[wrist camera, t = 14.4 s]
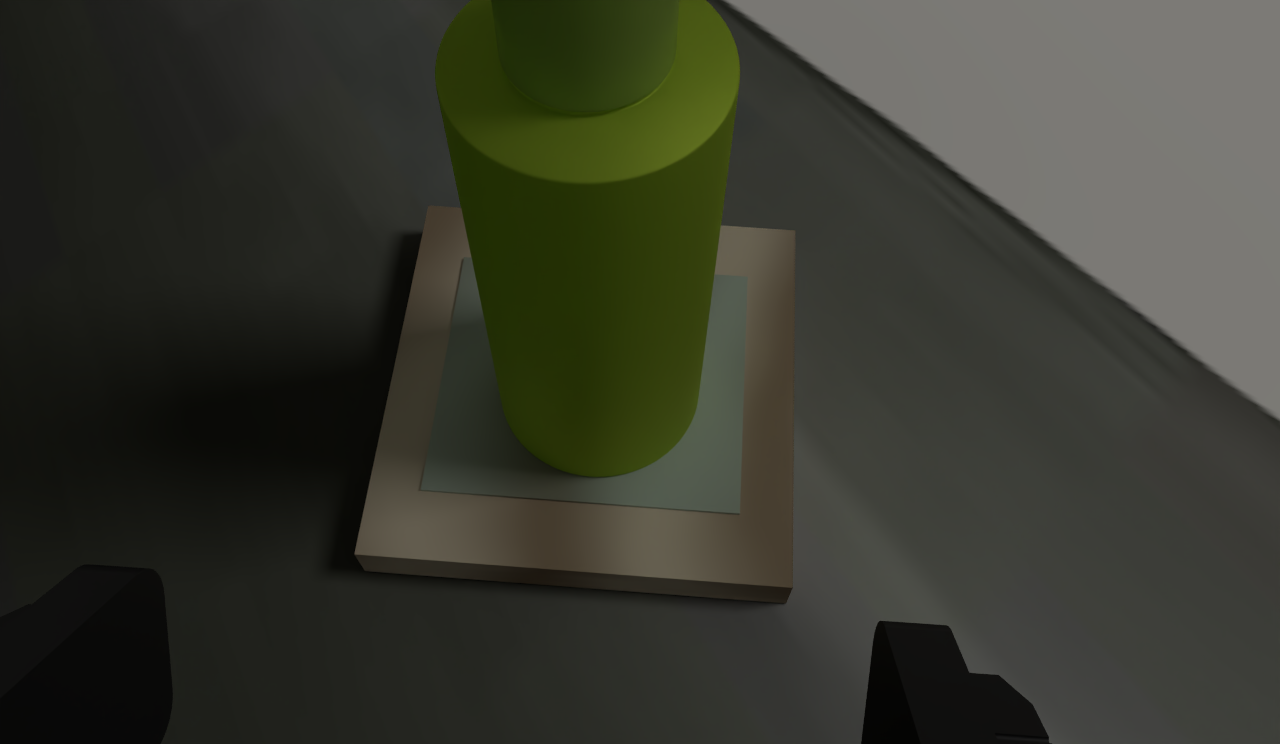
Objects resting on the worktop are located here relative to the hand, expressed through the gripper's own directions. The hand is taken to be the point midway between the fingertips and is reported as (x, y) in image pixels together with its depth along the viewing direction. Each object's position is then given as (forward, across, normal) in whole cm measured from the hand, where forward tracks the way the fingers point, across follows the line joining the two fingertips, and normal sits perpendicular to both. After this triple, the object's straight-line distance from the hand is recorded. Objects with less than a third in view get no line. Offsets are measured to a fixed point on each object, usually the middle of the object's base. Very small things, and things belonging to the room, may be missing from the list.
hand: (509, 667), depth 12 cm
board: (+22, +1, +4) cm, 22 cm away
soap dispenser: (+20, +1, +3) cm, 21 cm away
